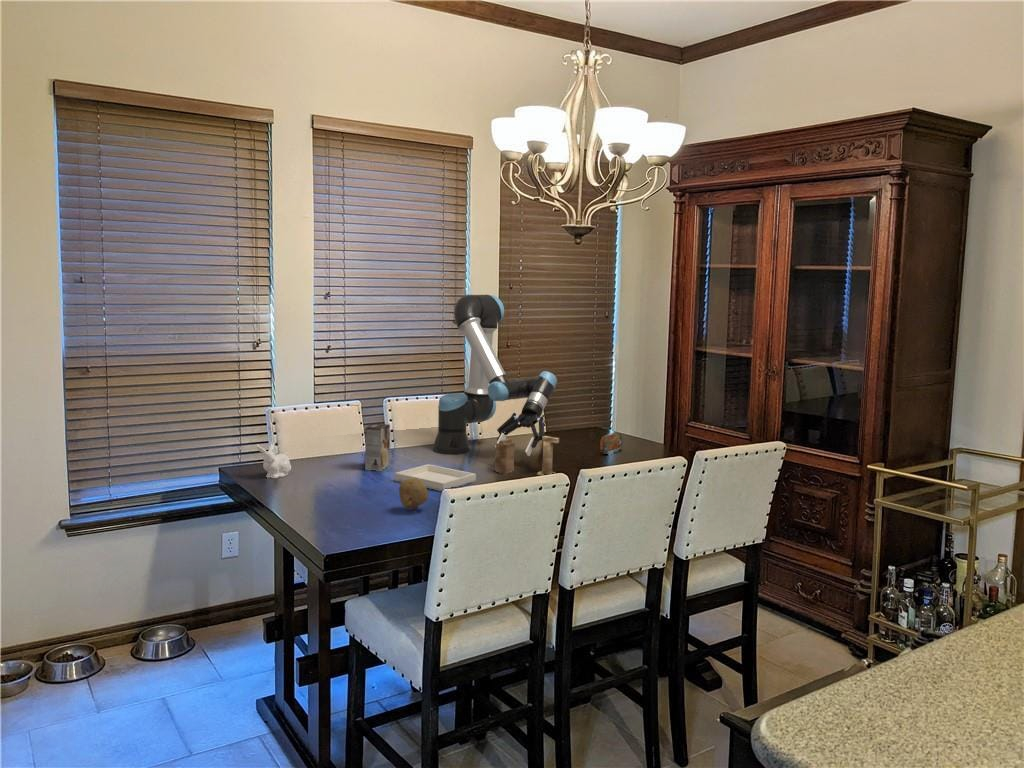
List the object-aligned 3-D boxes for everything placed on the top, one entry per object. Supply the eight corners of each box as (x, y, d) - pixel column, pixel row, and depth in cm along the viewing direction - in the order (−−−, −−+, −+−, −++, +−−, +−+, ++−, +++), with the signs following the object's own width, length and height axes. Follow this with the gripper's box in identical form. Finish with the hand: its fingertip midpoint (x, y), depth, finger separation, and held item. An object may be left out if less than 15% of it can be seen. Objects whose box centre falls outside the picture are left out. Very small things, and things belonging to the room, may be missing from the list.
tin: (604, 456, 337) (605, 436, 336) (597, 455, 339) (598, 435, 338) (622, 451, 349) (623, 432, 348) (616, 450, 351) (617, 431, 350)
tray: (394, 481, 286) (394, 472, 286) (428, 472, 301) (428, 464, 300) (443, 492, 274) (443, 483, 273) (475, 482, 288) (476, 473, 288)
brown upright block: (495, 472, 304) (496, 440, 302) (502, 470, 308) (503, 438, 306) (506, 474, 301) (507, 442, 299) (513, 472, 305) (514, 440, 304)
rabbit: (271, 480, 281) (271, 446, 280) (252, 476, 286) (252, 443, 284) (297, 474, 292) (297, 441, 290) (278, 470, 296) (277, 437, 295)
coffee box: (373, 464, 309) (374, 423, 307) (389, 466, 308) (390, 424, 306) (364, 470, 300) (365, 427, 298) (381, 471, 299) (381, 428, 297)
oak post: (533, 476, 300) (535, 437, 298) (544, 472, 306) (545, 434, 304) (551, 479, 296) (552, 439, 294) (561, 475, 302) (562, 437, 300)
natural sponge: (428, 506, 257) (429, 475, 256) (426, 514, 248) (427, 482, 247) (400, 505, 257) (400, 474, 255) (397, 513, 248) (397, 481, 246)
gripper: (565, 416, 310) (544, 461, 300) (511, 409, 324) (488, 452, 313) (558, 403, 305) (536, 450, 295) (504, 397, 319) (480, 441, 308)
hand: (511, 451), depth 304 cm, fingers open, 13 cm apart
